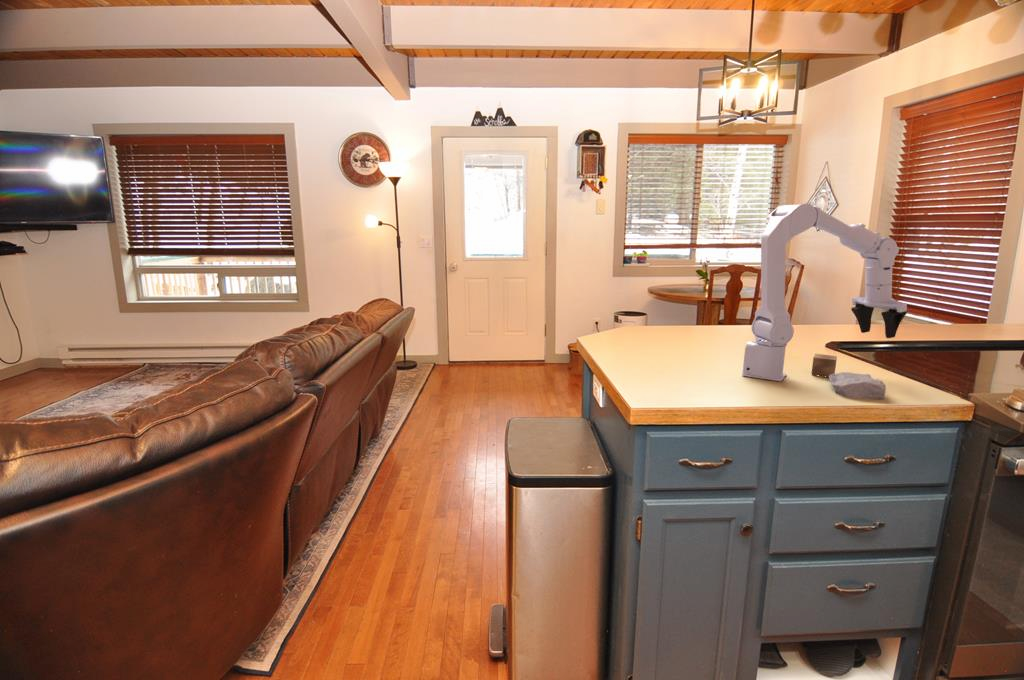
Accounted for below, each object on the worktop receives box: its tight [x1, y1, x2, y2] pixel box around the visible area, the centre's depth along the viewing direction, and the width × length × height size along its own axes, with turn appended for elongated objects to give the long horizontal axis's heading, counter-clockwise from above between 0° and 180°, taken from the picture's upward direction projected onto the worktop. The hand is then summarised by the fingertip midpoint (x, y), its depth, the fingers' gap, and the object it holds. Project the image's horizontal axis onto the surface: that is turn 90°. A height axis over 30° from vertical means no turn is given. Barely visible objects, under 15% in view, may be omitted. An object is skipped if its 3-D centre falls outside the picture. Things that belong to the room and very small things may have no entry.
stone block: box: [828, 371, 887, 400], centre depth 127 cm, size 12×5×10 cm
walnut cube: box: [811, 353, 838, 378], centre depth 140 cm, size 5×5×5 cm
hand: (877, 334), depth 139 cm, fingers open, 7 cm apart
